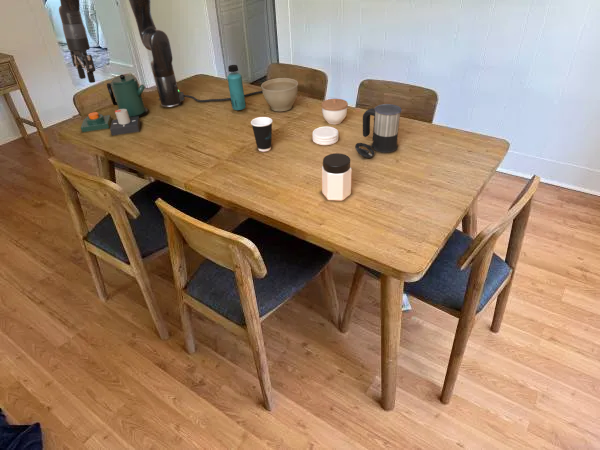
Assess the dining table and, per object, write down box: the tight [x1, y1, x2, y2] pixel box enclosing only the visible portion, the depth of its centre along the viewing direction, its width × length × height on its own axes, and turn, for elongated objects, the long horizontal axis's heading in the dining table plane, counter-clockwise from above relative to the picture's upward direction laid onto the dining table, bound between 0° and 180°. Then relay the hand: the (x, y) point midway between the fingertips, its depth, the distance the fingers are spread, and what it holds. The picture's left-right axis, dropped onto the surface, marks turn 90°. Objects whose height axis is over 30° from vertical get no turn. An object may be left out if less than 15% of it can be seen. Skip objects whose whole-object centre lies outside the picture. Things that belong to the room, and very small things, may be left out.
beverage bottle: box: [226, 64, 247, 111], centre depth 180 cm, size 6×7×20 cm
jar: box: [321, 152, 353, 201], centre depth 125 cm, size 9×8×12 cm
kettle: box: [106, 74, 149, 119], centre depth 183 cm, size 18×13×18 cm
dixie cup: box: [250, 116, 273, 152], centre depth 152 cm, size 8×8×11 cm
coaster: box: [311, 125, 339, 146], centre depth 157 cm, size 10×10×4 cm
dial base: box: [109, 116, 141, 136], centre depth 175 cm, size 11×10×3 cm
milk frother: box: [354, 103, 402, 159], centre depth 145 cm, size 14×16×15 cm
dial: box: [114, 108, 130, 125], centre depth 173 cm, size 5×5×5 cm
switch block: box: [80, 113, 113, 133], centre depth 179 cm, size 11×10×4 cm
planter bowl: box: [260, 77, 299, 112], centre depth 183 cm, size 16×16×11 cm
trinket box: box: [320, 98, 349, 125], centre depth 169 cm, size 11×11×9 cm
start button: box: [87, 111, 100, 119], centre depth 178 cm, size 4×4×2 cm
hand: (87, 80), depth 164 cm, fingers open, 8 cm apart
